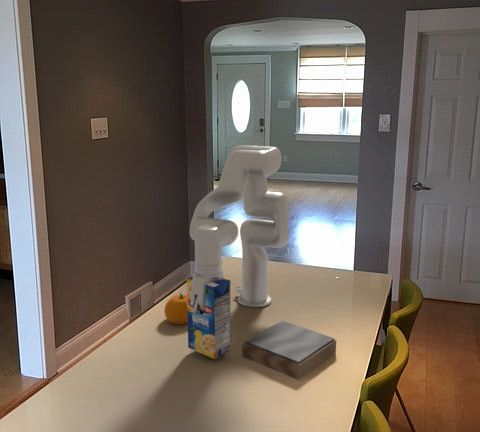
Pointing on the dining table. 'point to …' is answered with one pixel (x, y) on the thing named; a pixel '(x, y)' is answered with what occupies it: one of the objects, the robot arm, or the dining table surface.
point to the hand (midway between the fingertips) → (209, 326)
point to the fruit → (177, 309)
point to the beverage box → (210, 320)
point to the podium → (289, 349)
